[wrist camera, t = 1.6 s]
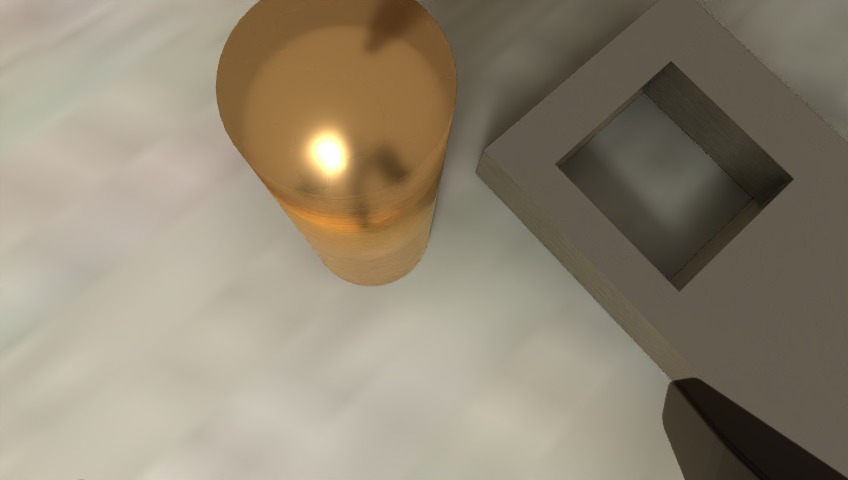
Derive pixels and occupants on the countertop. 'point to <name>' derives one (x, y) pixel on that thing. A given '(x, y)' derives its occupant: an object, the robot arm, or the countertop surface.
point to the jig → (732, 247)
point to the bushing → (344, 123)
